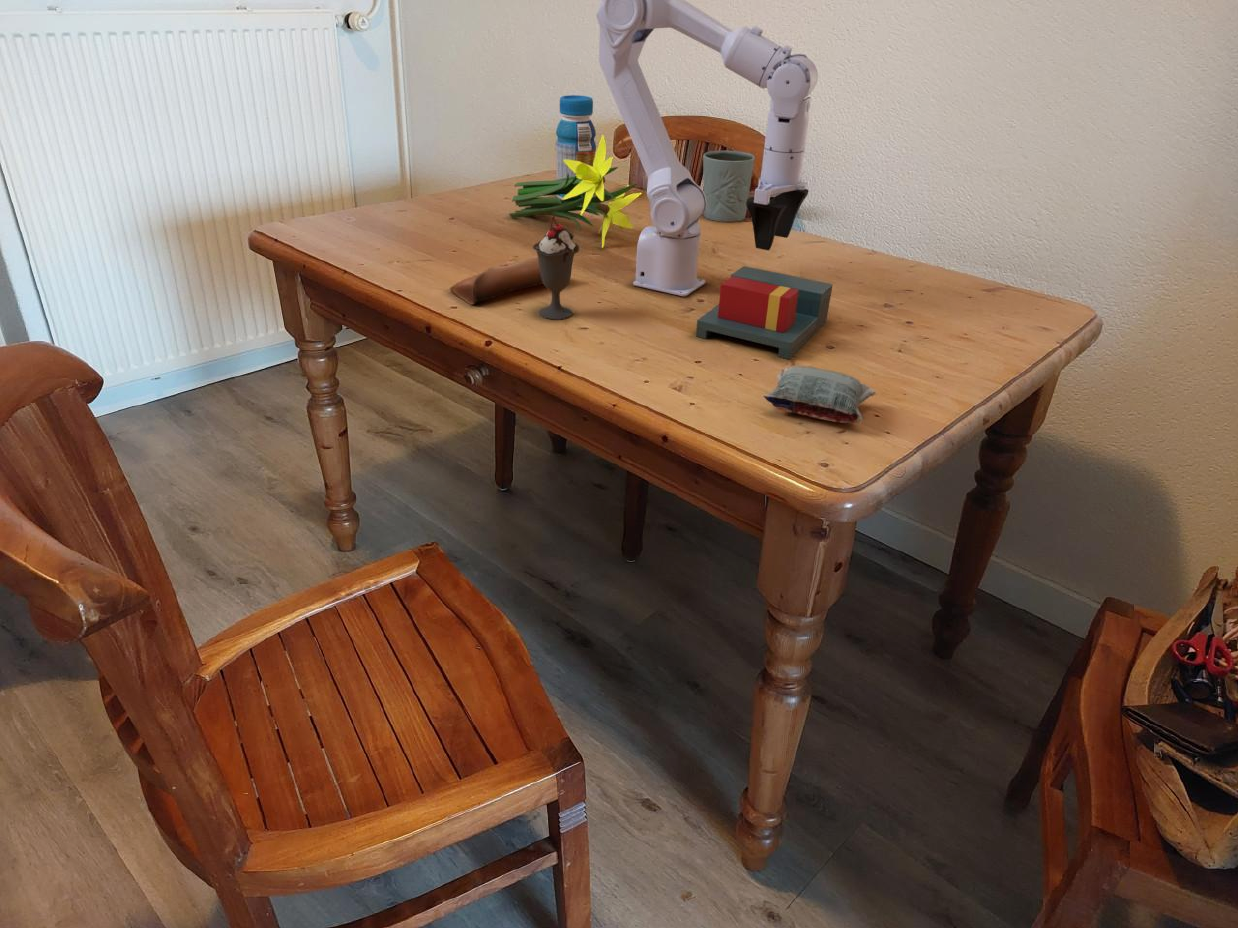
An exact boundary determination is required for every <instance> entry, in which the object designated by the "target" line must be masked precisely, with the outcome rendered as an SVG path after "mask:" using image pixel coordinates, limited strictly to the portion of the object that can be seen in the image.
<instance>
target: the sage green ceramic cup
mask: <svg viewBox="0 0 1238 928" xmlns="http://www.w3.org/2000/svg"><path fill="white" fill-rule="evenodd" d="M755 157H756V156H754V155H753V154H751V153H749V152H744V151H739V150H713V151H707V152H704V153H703V155H702V162H703V163H702V164H703V165H702V166H703V167H702V168H703V170H702V173H703V174H702V175H703V179H702V180H703V184H702V190H703V191H704V193H705V196H706V199H707V206H706V210H705V212H704V214H703V217H704V218H706V219H708V220H711V221H715V222H719V223H735V222H740V221H744V220H745V218H746V215H747V210H748V208H747V206H746V202H747V199H748V198H750V190H751V183H752V175H753V170H754V165H755V159H756V158H755Z"/></svg>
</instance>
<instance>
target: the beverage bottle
mask: <svg viewBox="0 0 1238 928" xmlns="http://www.w3.org/2000/svg"><path fill="white" fill-rule="evenodd" d="M593 113H594V100H593V98H592V97H591V96H587V95H579V94H578V95H577V94H570V95H569V94H568V95H567V94H566V95H562V96H560V97H559V114H560V115H561V116H562V117H561V119H560V120H559V122H558V124H557V127H556V130H555V134H556V136H557V137H556V138H557V140H556V142H555V145H554V146H555V149H554V150H555V152H556V180H558V179H563V178H567V175H568V173H569V177H573V176H575V175H576V174H575V173H574V172H573V171H572V170H571V169H570V168H569V167H568V166H567V165H566V164H565V162H564V161H563V160H564V159H569V160H574V161H579V162H582V163H585V164H587V165H590V166H592V167H593V162H594V158H595V155H596V152H597V144H596V141H595V137H596V136H597V132H596V128H595V126H594V123H593V121H592V120H591V118H590V117H592V116H593ZM584 193H585V192H584ZM582 194H583V193H582ZM565 195H566V194H563V195H555V197H559V198H560V199H561V200H563V198H564V196H565ZM577 196H578V195H577ZM574 197H575V196H574ZM592 197H595V194H594V195H593V196H592ZM571 198H572V197H571ZM567 199H568V198H567ZM564 200H565V199H564Z"/></svg>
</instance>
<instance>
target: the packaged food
mask: <svg viewBox="0 0 1238 928" xmlns="http://www.w3.org/2000/svg"><path fill="white" fill-rule="evenodd" d="M776 379H777V386H776V388H775V389H773V390H772V391H770V392H768V393H766V394H765V395H763V398H765V400H766V401H767V402H768V403H771V404H772V406H773V407H774V408H776V409H777V410H778V411H782V412H785V413H791V414H795V415H801V416H807V417H810V418H814V419H819V420H824V421H829V422H834V423H841V424H842V423H843V424H845V423H847V424H851V423H853V422H859V423H861V424H863V423H864V420H863V418H862V413H861V411H860V410H859V408H858V407H859V406H861V404H863V403H864V402H865V401H867V400H868V399H869V398H870V397H874V396H876V393H877V392H876V390H874V389H872V388H870V386H868V385H866V384H865V383H861V382H860V380H858V379H857V377H854V376H852V375H849V374H845V373H842V372H838V371H833V370H828V369H823V368H818V367H814V366H800V365H799V366H798V365H797V366H789V367H788V368H785V369H783V368H781V371H780V373H779V374H778V375H777V377H776Z"/></svg>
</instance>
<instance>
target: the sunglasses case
mask: <svg viewBox="0 0 1238 928" xmlns="http://www.w3.org/2000/svg"><path fill="white" fill-rule="evenodd" d="M535 285H544V284H543V283H542V278H541V274H540V266H539V260H538V257H532V258H526V259H522V260H518V261H515V262H511V263H504V264H500V265H499V266H493V267H489V268H487V269H485V270H484V271H483V272H482V273H478V274H476V275H473V276H470V277H467V278H465V279H462V280H460V281H458V282H456V283H455V284H453V285H452V286H450V292H452V293H453V294H454V295H455V296H456V297H457V298H459V299H460V300H462V301H464V303H467V304H468V305H470V306H473V305H475V304H476V303H477V302H483V301H486V300H490V299H492V298H494V297H498V296H500V295H502V294H507V293H509V292H512V291H517V290H521V289H525V288H526V289H527V288H530V287H533V286H535Z"/></svg>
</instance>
